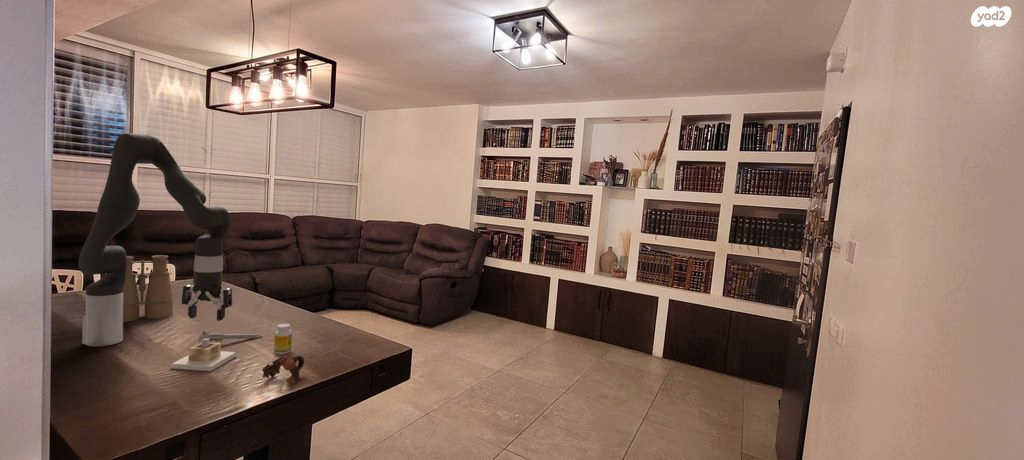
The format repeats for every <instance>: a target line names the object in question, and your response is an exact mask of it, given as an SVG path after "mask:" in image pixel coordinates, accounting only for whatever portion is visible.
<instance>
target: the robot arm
mask: <svg viewBox="0 0 1024 460" xmlns="http://www.w3.org/2000/svg"><path fill="white" fill-rule="evenodd" d="M137 164H139V165H141V164H142V165H145V164H147V165H153V166H155V168H157V169H158V170H160V171H161V173H162V174H163V177H164V178H163V180H164V181H163V182H164V186H165V189H166V191H167V193H168V194H169V195H170V196H171V197H172V199H174V201H176V202H177V203H178V204H179V205H180V206H181V207H182V209H183V213H184V214H185V215H186V218H187V219H188V221H189V222H190V224H191V225H192V226H194V227H195V228H197V229H200V230H206V231H205V233H204V234H203V235H201V236H199V237H197V238H196V240H195V251H194V252H195V254H194V261H193V279H192V280H193V284H187V285H184V286H183V287H182V295H181V304H182V305H186V306H187V307H188V308H187V316H188V318H189V319H194V318H196V317H197V315H198V314H197V313H198V311H197V310H198V309H197V307H198V305H197V304H198V303H199V302H200V301H206V302H211V303H212V304H213V305H214V306H215V307H216V308H217V309H216V321H218V322H220V321H222V320H224V319H225V317H226V309H227V308H230V307H232V306H233V289H232V288H231V287H228V288H223V287H222V284H223V278H224V277H223V274H224V273H223V272H224V271H223V270H224V258H223V253H224V252H223V251H224V250H223V249H224V240H225V239H226V236H227V232H228V230H229V226H230V222H231V219H230V213H229V211H228V210H227V209H226V208H225V207H224V206H218V205H217V206H213V205H211V206H209V205H208V206H206V205H205V203H206V202H207V197H206V194H205V193H204V192H203V190H201V189H200V188H199V187H198V186H197V185H196V184H195V183H194V182H193V181H192V180H191V179H190V178H189V177H188V176H187V174H186V173H185V172H184V171H183V169H182V168H181V166H180V165H179V163H178V162H177V160H176V158H174V156H173V154H171V152H170V151H169V149H168V148H167V146H166V145H165V144H164V143H163V141H162V140H161V139H160V138H159V137H157V136H155V135H152V134H144V133H143V134H142V133H122V134H119V135H118V136H117V138H116V139H115V142H114V145H113V149H112V154H111V160H110V167H109V170H108V171H109V172H108V176H107V179H106V183H105V187H104V189H103V192H102V194H101V197H100V201H99V203H98V206H97V211H96V215H95V218H94V221H93V222H92V223H93V224H92V227H91V229H90V232H89V233H88V236H87V238H86V240H85V242H84V244H83V246H82V249H81V251H80V253H79V258H78V268H79V271H80V272H81V273H82V274H85V275H90V276H92V275H102V274H103V275H104V274H105V275H104V276H103V277H101V278H100V279H98V280H97V281H94V282H92V283H90V284H88V285H87V286H86V288H85V315H83V316H82V326H81V327H82V329H81V330H82V336H81V339H82V342H81V343H82V345H85V346H87V347H95V348H96V347H107V346H111V345H112V346H113V345H115V344H118V343H120V342H122V341H123V339H124V322H123V290H124V285H125V279H126V267H127V256H128V255H127V251H126V250H125V249H124V247H123V246H121V245H108V243H109V242H110V241H111V240H112V238H113V237H115V236H116V235H117V234H119V233H120V232H121V231H122V230H124V229H125V228H127V227H128V226H129V225H130V224H131V223H132V222H133V221H134V219H135V218H136V215H137V212H138V209H139V207H140V203H141V201H140V200H141V198H140V195H139V192H138V191H137V189H136V187H135V185H134V182H133V174H134V170H135V168H136V165H137ZM192 293H194V295H193V294H192ZM192 295H193V296H192Z"/></svg>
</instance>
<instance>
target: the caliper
mask: <svg viewBox="0 0 1024 460" xmlns="http://www.w3.org/2000/svg"><path fill="white" fill-rule="evenodd" d="M209 332H210V331H209V330H206V331H205V330H203V331H202V333H200V335H199V337H198V343H197V344H199V343H201V342H202V339H206V338H208V339H210V340H209V342H212V341H214V342H215V343H221V342H222V341H223V340H241V339H242V340H244V339H245V340H246V339H247V340H248V339H260V338H264V337H263V335H261V334H259V333H246V334H245V333H237V334H236V333H235V334H231V333H230V334H224V333H209Z"/></svg>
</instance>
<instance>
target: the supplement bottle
mask: <svg viewBox="0 0 1024 460" xmlns="http://www.w3.org/2000/svg"><path fill="white" fill-rule="evenodd" d="M276 329H277V330H276V331H275V332H274V345H273V353H275V354H277V355H284V354H285V355H286V354H289V353H290V352H291V351H292V341H293V339H292V337H293V332H292V330H291V324H289V323H281V324H280V323H279V324H277V326H276Z"/></svg>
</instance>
